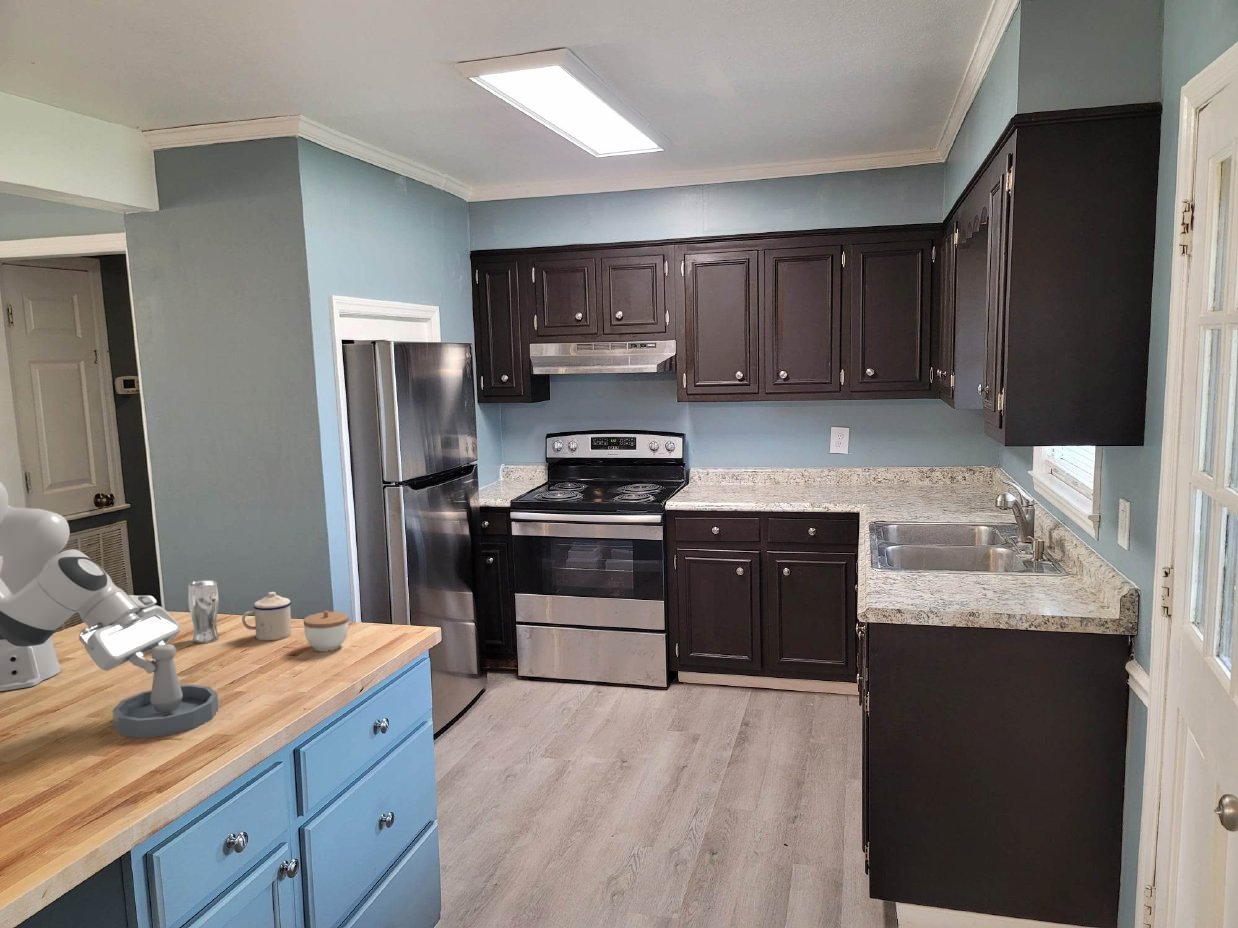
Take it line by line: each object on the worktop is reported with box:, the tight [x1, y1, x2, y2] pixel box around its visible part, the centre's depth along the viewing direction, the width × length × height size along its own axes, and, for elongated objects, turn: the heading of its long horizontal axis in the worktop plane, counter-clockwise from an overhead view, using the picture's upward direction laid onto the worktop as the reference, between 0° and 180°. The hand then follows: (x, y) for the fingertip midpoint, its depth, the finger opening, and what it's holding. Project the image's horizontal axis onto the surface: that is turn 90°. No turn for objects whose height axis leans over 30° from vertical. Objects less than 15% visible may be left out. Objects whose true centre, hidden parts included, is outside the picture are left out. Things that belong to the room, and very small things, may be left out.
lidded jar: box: [303, 610, 350, 652], centre depth 215 cm, size 11×11×9 cm
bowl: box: [112, 684, 219, 739], centre depth 172 cm, size 18×18×4 cm
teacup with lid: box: [241, 591, 292, 642], centre depth 223 cm, size 12×9×12 cm
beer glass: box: [187, 579, 220, 644], centre depth 221 cm, size 7×7×15 cm
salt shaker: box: [150, 643, 183, 713], centre depth 171 cm, size 6×6×13 cm
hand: (161, 666), depth 171 cm, fingers closed on salt shaker, 3 cm apart
